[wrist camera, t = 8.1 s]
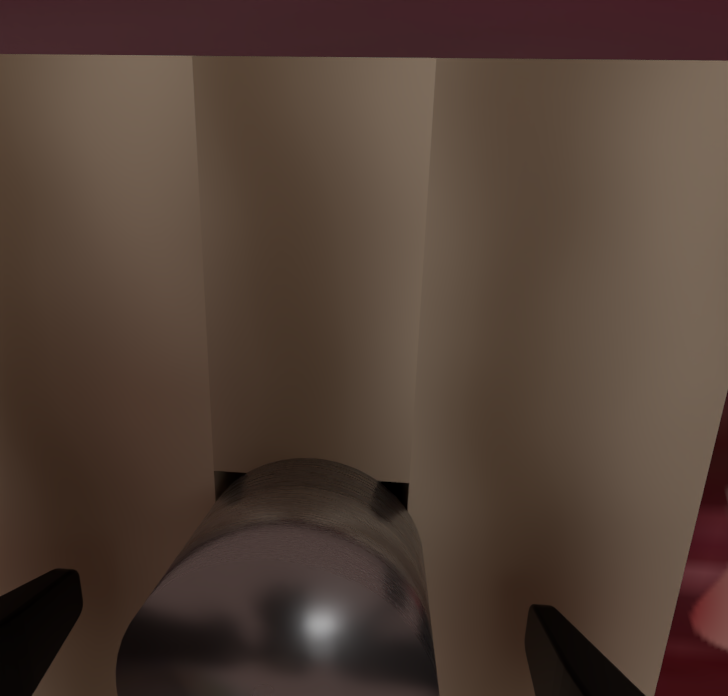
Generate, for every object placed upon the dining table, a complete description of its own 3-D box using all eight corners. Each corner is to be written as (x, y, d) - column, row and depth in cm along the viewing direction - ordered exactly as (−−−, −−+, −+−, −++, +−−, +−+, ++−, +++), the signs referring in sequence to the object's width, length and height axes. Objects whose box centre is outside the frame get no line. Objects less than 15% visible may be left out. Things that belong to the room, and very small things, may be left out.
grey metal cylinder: (415, 388, 13) (453, 574, 6) (407, 523, 14) (428, 836, 7) (265, 381, 14) (98, 549, 6) (267, 514, 15) (131, 805, 7)
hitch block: (618, 149, 12) (807, 61, 7) (533, 690, 16) (604, 903, 11) (90, 138, 13) (-128, 52, 7) (144, 657, 17) (33, 839, 12)
